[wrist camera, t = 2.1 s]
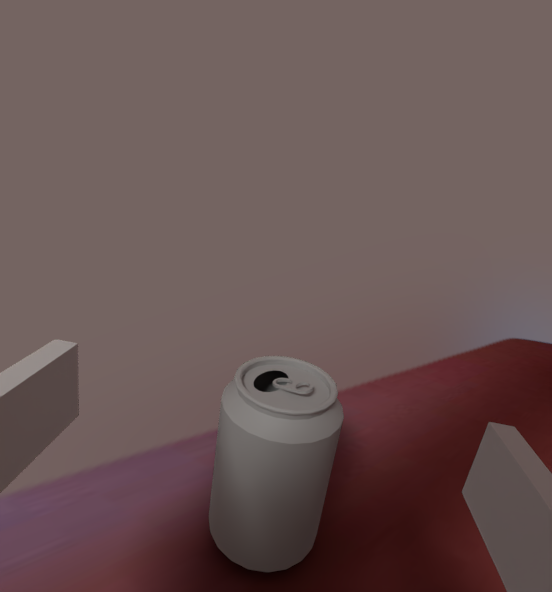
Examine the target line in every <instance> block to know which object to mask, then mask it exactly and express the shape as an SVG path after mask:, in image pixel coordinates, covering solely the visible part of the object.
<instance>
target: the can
mask: <svg viewBox="0 0 552 592" xmlns="http://www.w3.org/2000/svg"><path fill="white" fill-rule="evenodd" d="M337 396H338V391H337V385H336V384H335V382H334V381H333V379H332V378H331V376H330V375H328V374H327V373H326V372H325V371H323V370H322V369H321V368H319V367H317V366H315V365H313V364H311V363H309V362H306V361H303V360H299V359H296V358H291V357H283V356H265V357H259V358H254V359H252V360H250V361H247V362H245V363H243V364H242V365H241V366H240V367H239V368H238V369H237V371H236V375H235V377H234V380H232V381H231V382H230V383H229V384H228V385H227V386H226V387H225V389H224V392H223V395H222V398H221V408H220V417H219V426H218V435H217V444H216V453H215V462H214V472H213V481H212V490H211V499H210V509H209V525H210V533H211V535H212V537H213V539H214V541H215V543H216V545H217V547H218V548H219V549H220V550H221V551H222V552H223V553H224V554H225V555H226V556H227V557H228V558H229V559H230V560H231V561H233V562H235V563H237V564H239V565H241V566H242V567H244V568H246V569H249V570H255V571H261V572H274V571H280V570H286V569H288V568H290V567H292V566H293V565H295V564H297V563H299V562H301V561H302V560H303V559H304V557H305V556H306V555H307V554H308V553H309V551H310V550H311V549H312V547H313V544H314V541H315V538H316V535H317V531H318V527H319V522H320V518H321V514H322V509H323V505H324V501H325V496H326V492H327V488H328V483H329V479H330V475H331V470H332V466H333V462H334V457H335V453H336V449H337V444H338V440H339V436H340V431H341V427H342V423H343V418H344V415H343V409H342V405H341V403H340V402H339V400H338V399H337Z"/></svg>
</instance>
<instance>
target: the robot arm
mask: <svg viewBox="0 0 552 592" xmlns="http://www.w3.org/2000/svg"><path fill="white" fill-rule="evenodd" d="M78 403H79V399H78V344H77V343H73V342H67V341H62V340H57V339H55V340H53V341H52V342H50V343H48V344H47V345H45V346H44V347H42V348H40V349H39V350H37V351H35V352H34V353H32V354H30V355H29V356H27V357H26V358H24V359H22V360H21V361H19V362H18V363H16V364H15V365H13V366H11V367H9V368H8V369H6V370H5V371H3V372H1V373H0V493H1V492H2V491H3V490H4V489H5V488H6V487H7V486H8V485H9V484H10V483H11V482H12V481H13V480H14V479H15V478H16V477H17V476H18V475H19V474H20V473H21V472H22V471H23V470H24V469H25V468H26V467H27V466H28V465H29V464H30V463H31V462H32V461H33V460H34V459H35V458H36V457H37V456H38V455H39V454H40V453H41V452H42V451H43V450H44V449H45V448H46V447H47V446H48V445H49V444H50V443H51V442H52V441H53V440H54V439H55V438H56V437H57V436H58V435H59V434H60V433H61V432H62V431H63V430H64V429H65V428H66V427H67V426H68V425H69V424H70V423H71V422H72V421H73V420H74V419H75V418H76V417H77V416H78V415H79V404H78ZM462 494H463V496H464V499H465V501H466V503H467V505H468V507H469V509H470V512H471V514H472V516H473V518H474V520H475V523H476V525H477V527H478V529H479V531H480V533H481V536H482V538H483V540H484V542H485V544H486V547H487V549H488V551H489V553H490V555H491V558H492V560H493V562H494V564H495V566H496V568H497V571H498V573H499V575H500V577H501V579H502V582H503V584H504V586H505V588H506V590H507V592H552V474H551V472H550V471H549V470H548V469H547V467H546V466H545V465H544V463H543V462H542V461H541V460H540V458H539V457H538V456H537V455H536V453H535V452H534V451H533V450H532V448H531V447H530V446H529V444H528V443H527V442H526V441H525V439H524V438H523V437H522V436H521V434H520V433H519V432H518V431H517V429H516V428H515V427H514V426H509V425H503V424H498V423H493V422H489V423H488V425H487V428H486V430H485V433H484V436H483V438H482V441H481V443H480V446H479V449H478V451H477V454H476V456H475V459H474V462H473V464H472V467H471V469H470V472H469V474H468V477H467V480H466V482H465V485H464V487H463V490H462Z"/></svg>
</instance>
